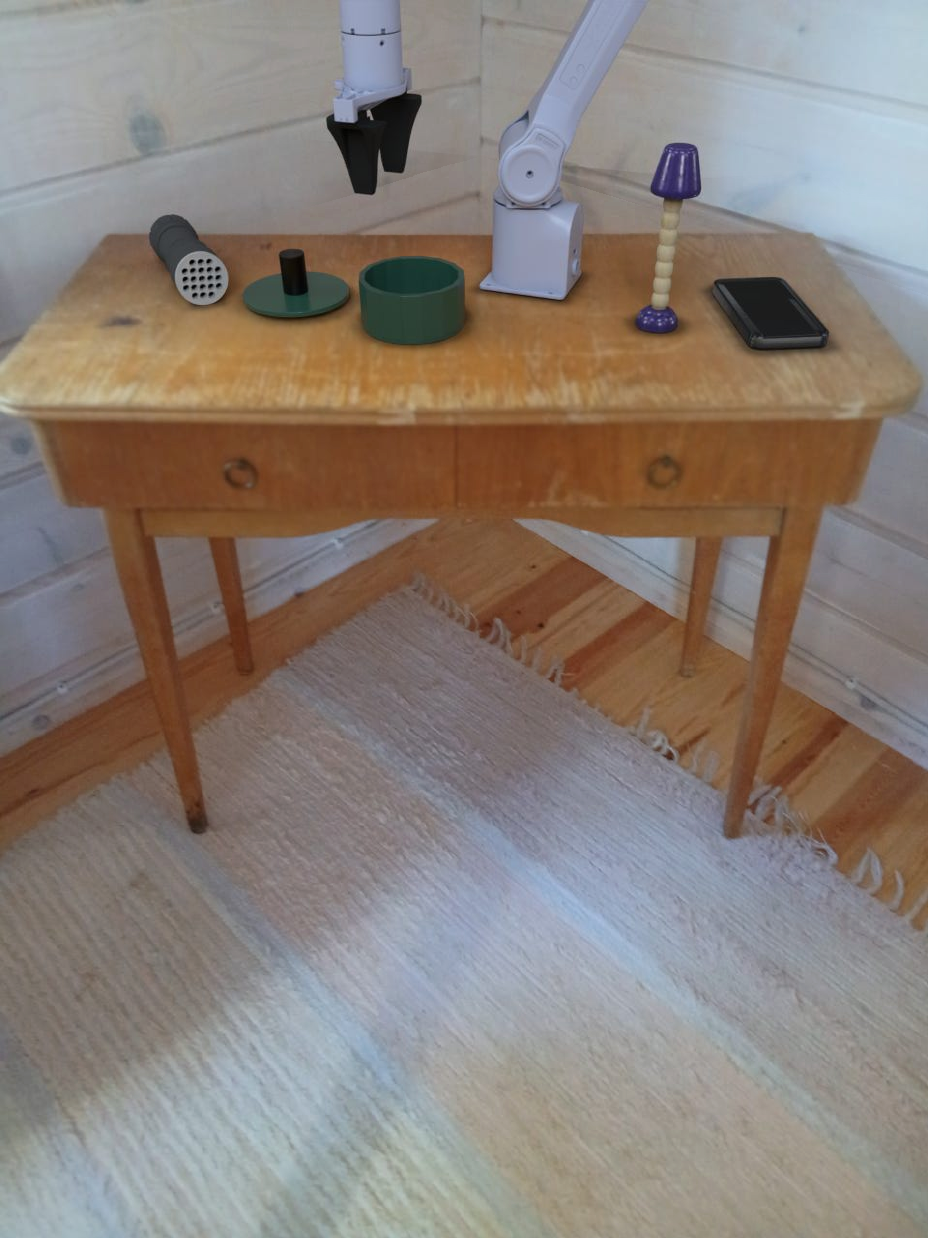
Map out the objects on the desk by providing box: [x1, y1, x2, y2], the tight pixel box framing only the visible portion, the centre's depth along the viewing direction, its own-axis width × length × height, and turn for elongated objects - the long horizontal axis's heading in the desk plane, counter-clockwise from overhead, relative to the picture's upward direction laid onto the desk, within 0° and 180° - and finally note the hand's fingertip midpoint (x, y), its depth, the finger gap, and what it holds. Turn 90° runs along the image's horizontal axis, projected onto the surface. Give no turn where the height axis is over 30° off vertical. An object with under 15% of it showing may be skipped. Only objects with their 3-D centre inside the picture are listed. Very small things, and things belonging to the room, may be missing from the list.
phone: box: [711, 276, 830, 350], centre depth 97 cm, size 8×1×15 cm
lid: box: [241, 248, 350, 318], centre depth 100 cm, size 11×11×5 cm
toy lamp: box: [634, 142, 702, 334], centre depth 91 cm, size 5×5×17 cm
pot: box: [358, 255, 466, 346], centre depth 96 cm, size 10×10×5 cm
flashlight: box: [148, 213, 229, 306], centre depth 104 cm, size 15×5×5 cm, turn 26°
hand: (379, 182), depth 99 cm, fingers open, 7 cm apart
